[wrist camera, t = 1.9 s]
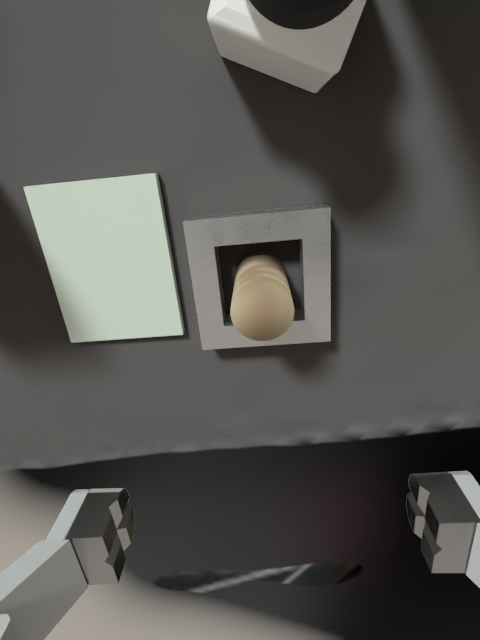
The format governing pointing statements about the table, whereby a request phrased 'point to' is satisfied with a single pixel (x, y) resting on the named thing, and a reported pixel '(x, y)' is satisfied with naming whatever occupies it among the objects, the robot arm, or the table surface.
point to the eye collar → (254, 228)
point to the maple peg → (261, 297)
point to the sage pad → (109, 256)
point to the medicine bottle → (286, 36)
